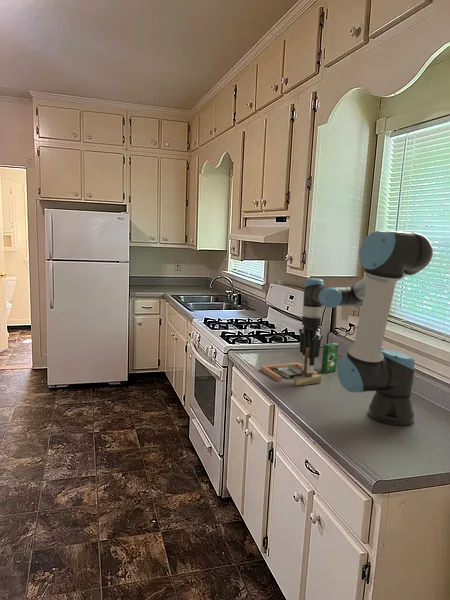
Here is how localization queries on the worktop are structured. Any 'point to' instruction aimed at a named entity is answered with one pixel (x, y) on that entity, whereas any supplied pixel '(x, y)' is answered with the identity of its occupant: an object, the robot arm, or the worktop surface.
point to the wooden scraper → (307, 374)
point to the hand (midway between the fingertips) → (307, 371)
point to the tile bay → (274, 375)
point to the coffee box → (329, 357)
